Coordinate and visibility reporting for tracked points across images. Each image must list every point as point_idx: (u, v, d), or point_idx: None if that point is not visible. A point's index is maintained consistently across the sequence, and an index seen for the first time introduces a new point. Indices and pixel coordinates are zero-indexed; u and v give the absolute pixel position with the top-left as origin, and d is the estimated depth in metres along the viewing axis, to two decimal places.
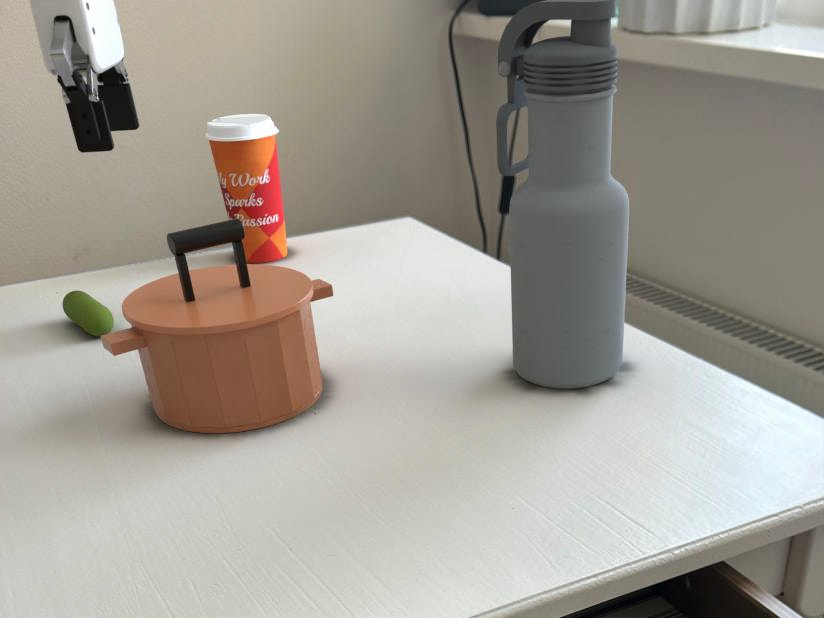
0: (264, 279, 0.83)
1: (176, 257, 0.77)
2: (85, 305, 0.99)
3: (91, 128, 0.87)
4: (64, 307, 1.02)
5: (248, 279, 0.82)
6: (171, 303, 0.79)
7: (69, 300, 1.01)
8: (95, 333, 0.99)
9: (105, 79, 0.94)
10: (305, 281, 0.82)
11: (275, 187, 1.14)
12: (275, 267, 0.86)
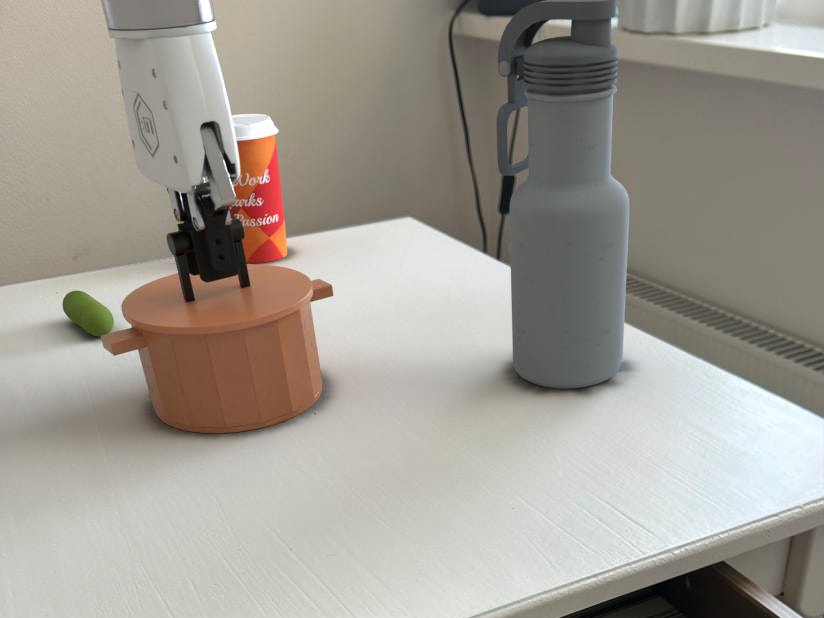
0: (264, 279, 0.83)
1: (176, 257, 0.77)
2: (85, 305, 0.99)
3: (223, 254, 0.78)
4: (64, 307, 1.02)
5: (248, 279, 0.82)
6: (171, 303, 0.79)
7: (69, 300, 1.01)
8: (95, 333, 0.99)
9: (188, 208, 0.77)
10: (305, 281, 0.82)
11: (275, 187, 1.14)
12: (275, 267, 0.86)
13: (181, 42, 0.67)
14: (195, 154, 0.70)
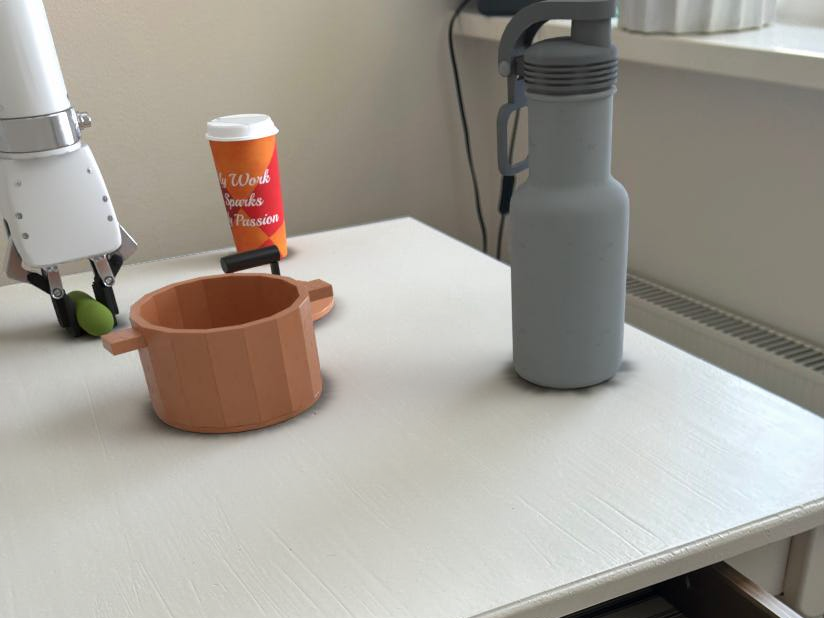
0: None
1: None
2: (85, 305, 0.99)
3: (59, 316, 1.00)
4: None
5: None
6: None
7: None
8: (95, 333, 0.99)
9: (94, 274, 1.00)
10: None
11: (275, 187, 1.14)
12: (302, 282, 1.07)
13: None
14: (6, 236, 0.95)
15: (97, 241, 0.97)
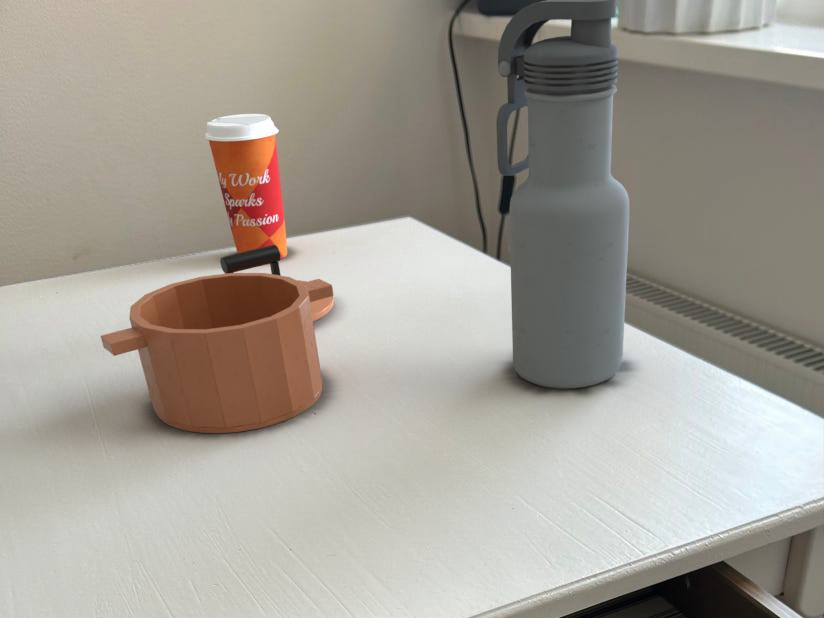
0: None
1: None
2: None
3: None
4: None
5: None
6: None
7: None
8: None
9: None
10: None
11: (275, 187, 1.14)
12: (302, 282, 1.07)
13: None
14: None
15: None
